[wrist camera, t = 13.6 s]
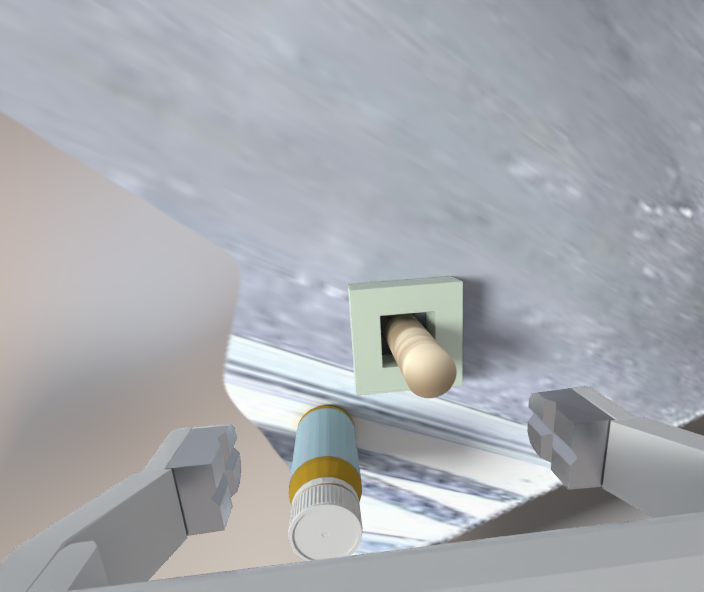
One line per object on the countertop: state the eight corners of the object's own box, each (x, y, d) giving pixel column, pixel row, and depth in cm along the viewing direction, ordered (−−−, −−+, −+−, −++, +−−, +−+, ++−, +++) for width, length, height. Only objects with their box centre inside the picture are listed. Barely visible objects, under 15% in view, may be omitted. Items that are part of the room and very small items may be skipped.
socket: (347, 284, 39) (349, 290, 36) (451, 276, 40) (462, 281, 37) (354, 381, 42) (357, 395, 39) (451, 371, 43) (462, 385, 39)
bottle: (285, 427, 43) (264, 535, 28) (328, 391, 42) (329, 484, 28) (323, 462, 44) (322, 583, 30) (365, 429, 44) (384, 535, 29)
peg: (382, 313, 40) (404, 352, 29) (419, 310, 41) (456, 347, 29) (384, 348, 41) (406, 400, 30) (420, 345, 42) (456, 395, 30)
